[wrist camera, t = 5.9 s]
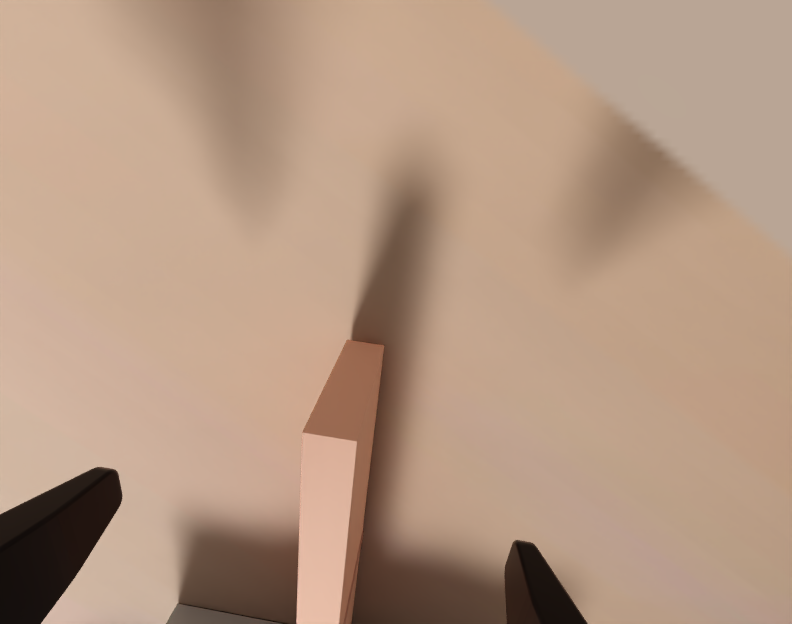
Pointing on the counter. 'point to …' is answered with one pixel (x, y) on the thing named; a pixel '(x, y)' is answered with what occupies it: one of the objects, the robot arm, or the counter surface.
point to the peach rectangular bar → (336, 485)
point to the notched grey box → (209, 617)
